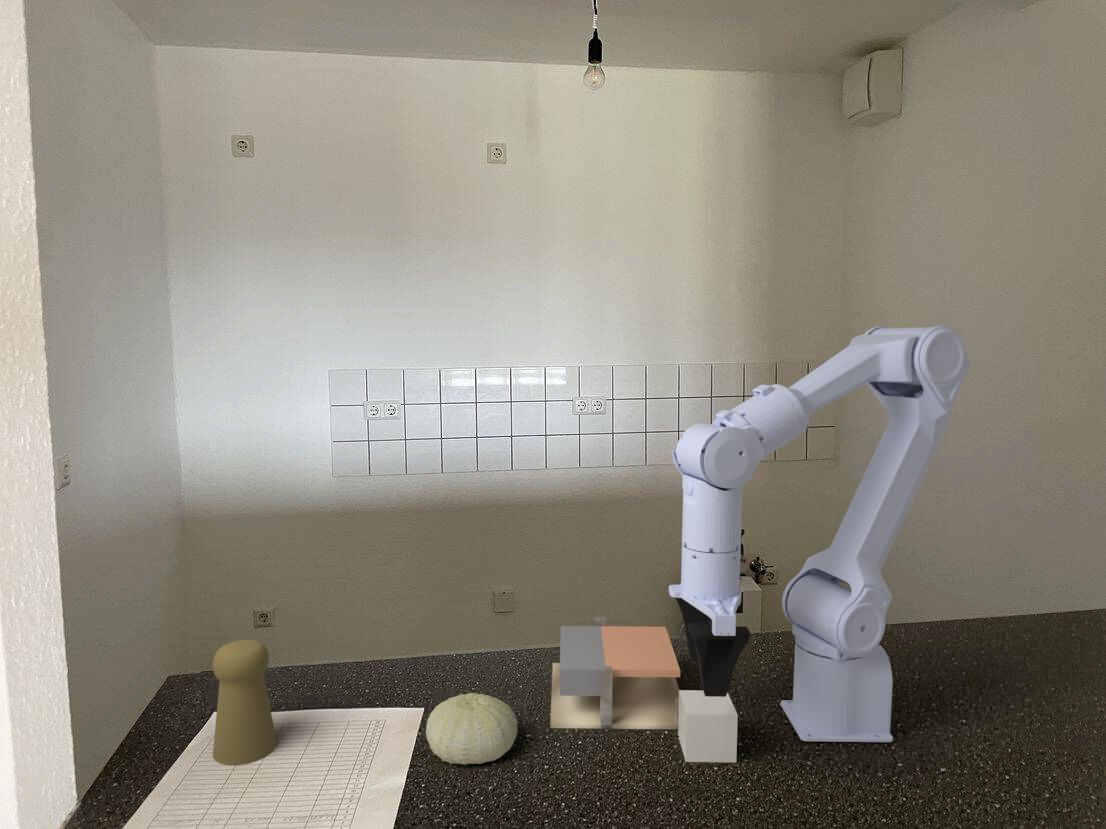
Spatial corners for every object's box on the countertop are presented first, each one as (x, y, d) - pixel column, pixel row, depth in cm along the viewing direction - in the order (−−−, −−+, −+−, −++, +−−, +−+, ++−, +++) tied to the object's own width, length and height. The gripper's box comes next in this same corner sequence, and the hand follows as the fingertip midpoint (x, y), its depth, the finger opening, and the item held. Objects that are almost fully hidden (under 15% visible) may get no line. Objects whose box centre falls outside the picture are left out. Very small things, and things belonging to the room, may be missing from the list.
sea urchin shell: (513, 759, 71) (455, 697, 71) (458, 807, 72) (401, 746, 73) (534, 711, 80) (483, 656, 80) (484, 755, 81) (434, 701, 82)
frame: (671, 666, 94) (671, 617, 94) (690, 729, 79) (691, 671, 79) (552, 665, 95) (552, 616, 94) (550, 728, 80) (550, 669, 79)
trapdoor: (665, 650, 93) (665, 626, 92) (679, 696, 81) (680, 670, 80) (560, 649, 93) (560, 625, 93) (559, 695, 81) (559, 669, 81)
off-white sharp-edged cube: (725, 736, 78) (726, 690, 78) (736, 763, 73) (737, 714, 73) (677, 735, 79) (678, 690, 78) (685, 762, 74) (686, 714, 73)
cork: (214, 771, 72) (208, 662, 71) (210, 741, 77) (205, 639, 76) (280, 755, 75) (276, 650, 73) (272, 727, 80) (268, 628, 79)
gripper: (661, 526, 81) (658, 646, 82) (681, 567, 67) (678, 712, 68) (726, 526, 81) (722, 646, 82) (761, 568, 66) (755, 713, 68)
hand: (707, 676), depth 75 cm, fingers open, 7 cm apart
